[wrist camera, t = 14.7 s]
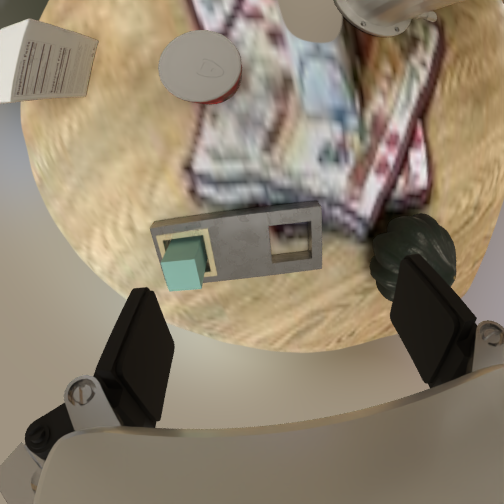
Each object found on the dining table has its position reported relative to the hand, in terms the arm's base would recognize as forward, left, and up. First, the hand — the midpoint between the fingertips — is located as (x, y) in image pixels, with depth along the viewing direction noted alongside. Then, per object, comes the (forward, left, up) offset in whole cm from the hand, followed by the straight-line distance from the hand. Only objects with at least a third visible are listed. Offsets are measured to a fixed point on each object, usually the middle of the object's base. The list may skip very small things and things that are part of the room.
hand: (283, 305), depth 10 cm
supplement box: (+25, -20, -31) cm, 44 cm away
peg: (+11, +12, -30) cm, 34 cm away
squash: (-23, +16, -31) cm, 41 cm away
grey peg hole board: (+3, +12, -30) cm, 33 cm away
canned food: (+4, -12, -31) cm, 33 cm away
